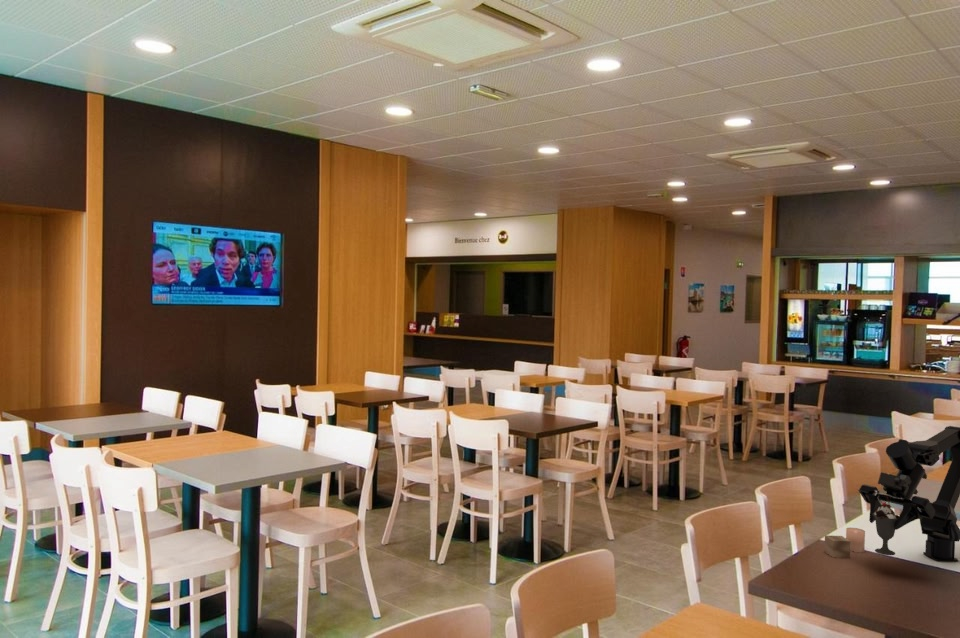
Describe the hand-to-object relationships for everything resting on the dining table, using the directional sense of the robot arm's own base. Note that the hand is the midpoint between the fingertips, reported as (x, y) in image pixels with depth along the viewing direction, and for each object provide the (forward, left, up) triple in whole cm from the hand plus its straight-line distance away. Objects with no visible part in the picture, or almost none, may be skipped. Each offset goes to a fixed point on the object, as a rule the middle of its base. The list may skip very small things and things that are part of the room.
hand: (882, 525), depth 198 cm
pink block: (-4, -20, -13) cm, 24 cm away
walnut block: (+4, -15, -13) cm, 21 cm away
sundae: (-1, -1, -8) cm, 8 cm away
